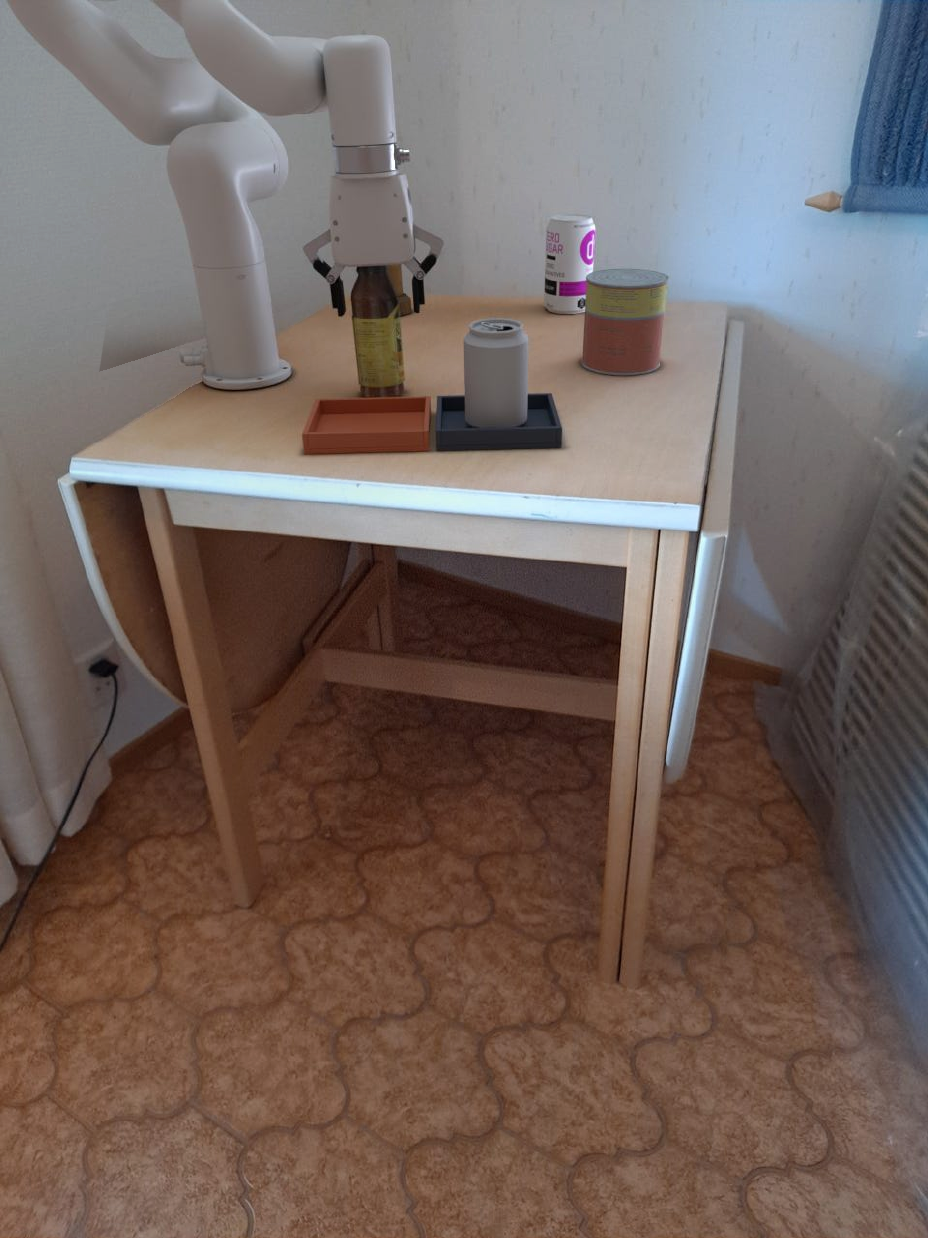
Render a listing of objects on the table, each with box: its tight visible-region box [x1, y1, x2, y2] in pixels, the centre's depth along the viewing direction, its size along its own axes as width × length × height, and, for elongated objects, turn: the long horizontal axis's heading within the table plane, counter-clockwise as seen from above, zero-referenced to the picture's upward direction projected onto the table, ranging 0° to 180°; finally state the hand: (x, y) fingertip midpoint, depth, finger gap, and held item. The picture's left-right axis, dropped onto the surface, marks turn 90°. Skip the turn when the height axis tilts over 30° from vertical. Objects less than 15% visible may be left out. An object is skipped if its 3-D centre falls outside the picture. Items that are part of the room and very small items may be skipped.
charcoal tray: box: [435, 392, 563, 452], centre depth 104 cm, size 14×12×2 cm
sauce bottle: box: [350, 265, 406, 398], centre depth 111 cm, size 7×6×20 cm
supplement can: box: [543, 213, 596, 315], centre depth 149 cm, size 8×8×15 cm
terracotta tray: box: [301, 395, 432, 455], centre depth 104 cm, size 14×12×2 cm
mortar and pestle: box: [386, 264, 412, 317], centre depth 149 cm, size 7×6×18 cm
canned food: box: [581, 268, 670, 377], centre depth 122 cm, size 11×11×12 cm
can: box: [462, 317, 530, 428], centre depth 101 cm, size 8×8×12 cm
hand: (379, 312), depth 111 cm, fingers open, 9 cm apart
